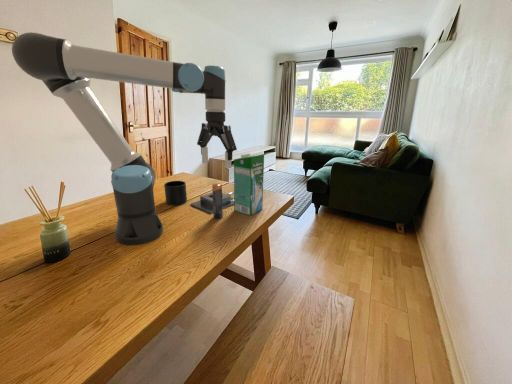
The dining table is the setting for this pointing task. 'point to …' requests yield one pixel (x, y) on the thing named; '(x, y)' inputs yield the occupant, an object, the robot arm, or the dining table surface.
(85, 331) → the dining table surface
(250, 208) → the milk carton
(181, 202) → the mug
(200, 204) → the grey peg hole base
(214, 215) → the copper tipped cylinder
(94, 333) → the dining table surface
